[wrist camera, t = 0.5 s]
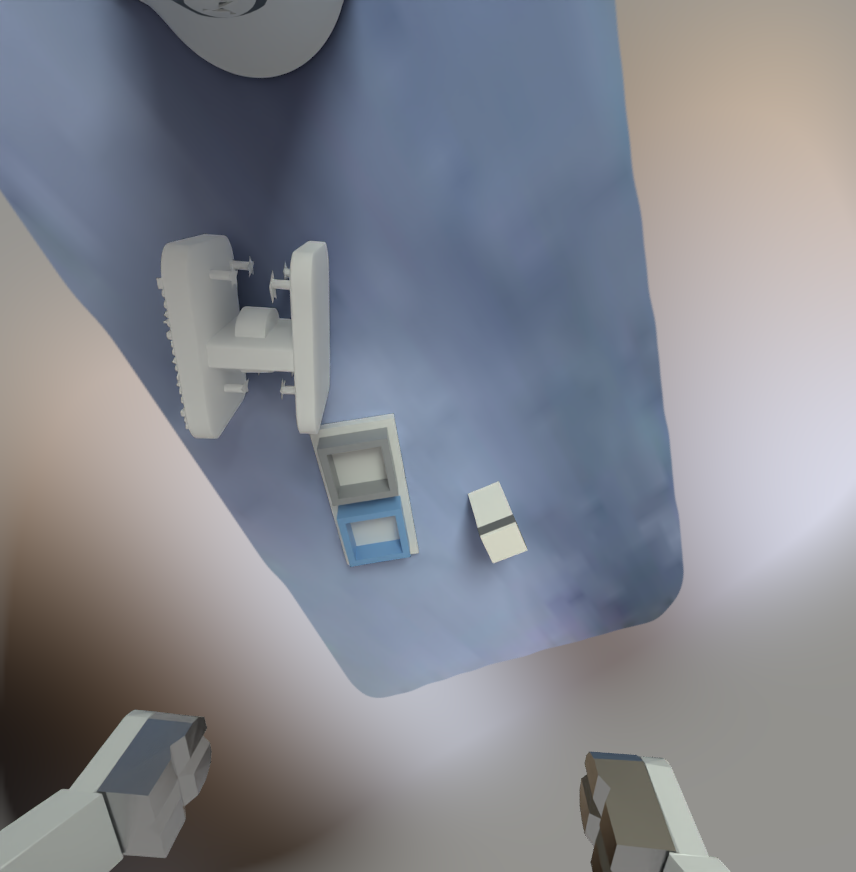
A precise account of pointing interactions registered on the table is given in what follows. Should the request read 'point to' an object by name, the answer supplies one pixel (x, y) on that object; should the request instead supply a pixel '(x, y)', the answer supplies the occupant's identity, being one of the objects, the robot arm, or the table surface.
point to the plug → (496, 523)
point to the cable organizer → (244, 331)
